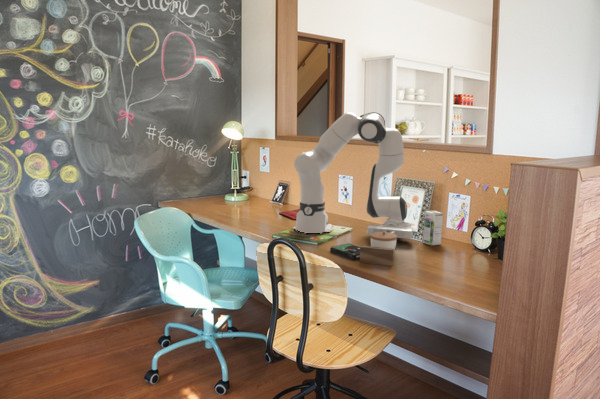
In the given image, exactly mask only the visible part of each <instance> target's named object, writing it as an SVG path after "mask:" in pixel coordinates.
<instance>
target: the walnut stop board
mask: <svg viewBox="0 0 600 399" xmlns="http://www.w3.org/2000/svg"><path fill="white" fill-rule="evenodd" d="M359 247H360V259H359V263H364V264H374V265H381V266H391V267H393V265H394V256H395V255H394V254H395V249H392V248H382V247H372V246H371V245H360V246H359Z"/></svg>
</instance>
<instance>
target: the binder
mask: <svg viewBox="0 0 600 399" xmlns="http://www.w3.org/2000/svg"><path fill="white" fill-rule="evenodd" d="M299 211H300V208H298V209H294V210H293V209H292V210H287V211H282V212H279V215H281V216H283V217H286V218H288V219H290V220H292V221H296V218H297V213H298V212H299Z"/></svg>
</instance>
